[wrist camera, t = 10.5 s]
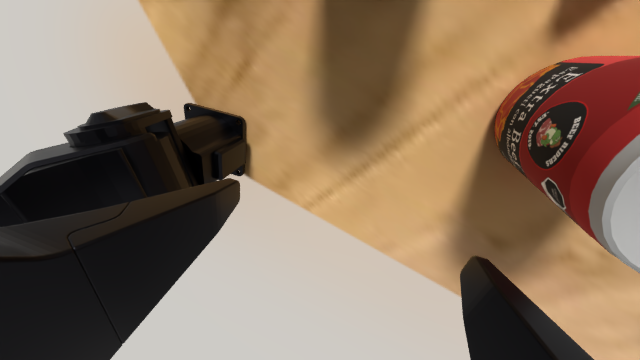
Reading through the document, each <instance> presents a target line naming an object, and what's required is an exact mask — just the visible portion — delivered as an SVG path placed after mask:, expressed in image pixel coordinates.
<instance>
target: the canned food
mask: <svg viewBox="0 0 640 360" xmlns="http://www.w3.org/2000/svg"><path fill="white" fill-rule="evenodd" d="M495 139H496V142H497V146H498V148H499V150H500V151H501V153H502V155H503V156H504V157H505V158H506V159H507V160H508V161H509V162H510V163H511V164H512V165H513V166H515V167H516V168H517V169H518V170H519V171H520V172H521V173H522V174H523V175H524V176H525V177H526V178H528V179H529V180H530V181H531V182H532V183H533V184H534V185H535V186H536V187H537V188H538V189H540V190H541V191H542V192H543V193H544V194H545V195H546V196H547V197H548V198H549V199H550V200H551V201H553V202H554V203H555V204H556V205H557V206H558V207H559V208H560V209H561V210H562V211H563V212H564V213H566V214H567V215H568V216H569V217H570V218H571V219H572V220H573V221H574V222H575V223H576V224H578V225H579V226H580V227H581V228H582V229H583V230H584V231H585V232H586V233H587V234H588V235H590V236H591V237H592V238H593V239H595V240H596V241H597V242H598V243H599V244H600V245H601V246H602V247H604V248H605V249H606V250H607V251H608V252H609V253H611V254H612V255H614V256H615V257H617V258H618V259H620V260H621V261H622V262H623V263H625V264H626V265H628V266H629V267H631V268H632V269H634V270H635V271H637V272H639V273H640V56H590V57H579V58H574V59H569V60H565V61H562V62H559V63H557V64H554V65H551V66H548V67H546V68H544V69H542V70H540V71H538V72H537V73H535V74H533V75H531V76H529V77H528V78H527V79H525V80H524V81H523V82H521V83H520V84H518V85H517V86H516V87H515V88H514V89H513V90H512V91H511V92H510V93H509V94H508V96H507V97H506V99H505V100H504V101H503V103H502V104H501V107H500V109H499V111H498V113H497V116H496V120H495Z"/></svg>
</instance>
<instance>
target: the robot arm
mask: <svg viewBox="0 0 640 360" xmlns="http://www.w3.org/2000/svg"><path fill="white" fill-rule="evenodd" d="M189 107H190V109H191V110H190V109H189ZM184 113H185V120H182V121H179V122H176V123H173V121H172V119H171V117H172V115H171V112H170V110H163V111H160V109H154V108H153V107H151V106H150V105H148V103H146V102H145V103H138V104H133V105H127V106H122V107H118V108H113V109H108V110H104V111H100V112H96V113H92V114H91V115H90V117H89V119H88V120H87V122H86V123H85V124H82V125H80V126H78V128H76V129H73V130H70V131H68V132H65V133H64V136H65V137H66V139H67V140H68V142H69V143H65V144H61V145H57V146H52V147H48V148H44V149H40V150H36V151H33V152H30V153H29V154H27V155H26V156H25V157H24V158H22V159H21V160H20V161H19V162H17V163H16V164H15V165H14V166H13V167H12V168H10V169H9V170H8V171H7V172H6V173H5V174H3V175H2V176H1V177H0V360H110V359H111V358H112V357H113V355H114V354H115V353H116V352H117V351H118V350H119V348H120V347H121V346H122V344H123V343H124V342H125V341H126V340H127V339H128V337H129V336H130V335H131V334H132V333H133V332H134V330H135V329H136V328H137V327H138V326H139V325H140V323H141V322H142V321H143V320H144V319H145V318H146V316H147V315H148V314H149V313H150V312H151V311H152V309H153V308H154V307H155V306H156V305H157V304H158V302H159V301H160V300H161V299H162V298H163V296H164V295H165V294H166V293H167V292H168V291H169V289H170V288H171V287H172V286H173V285H174V284H175V282H176V281H177V280H178V279H179V278H180V277H181V275H182V274H183V273H184V272H185V271H186V270H187V268H188V267H189V266H190V265H191V264H192V263H193V261H194V260H195V259H196V258H197V256H198V255H199V254H200V253H201V252H202V251H203V250H204V249H205V247H206V246H207V245H208V244H209V242H210V241H211V240H212V239H213V238H214V237H215V236H216V234H217V233H218V232H219V230H220V229H221V228H222V226H223V225H224V223H225V222H226V220H227V218H228V217H229V216H230V214H231V213H232V212H233V210H234V209H235V207H236V205H237V204H238V202H239V200H240V183H239V181H237V180H234V179H231V178H228V179H224V178H225V177H226V176H228V175H229V174H234V175H237V176H242V175H243V174H244V172H245V163H246V140H245V120H244V118H243V117H241V116H237V115H233V114H230V113H226V112H222V111H218V110H215V109H211V108H207V107H204V106H200V105H196V104H192V103H187V104H185V105H184ZM238 120H239V121H240V123H241V124H239V122H238ZM238 170H239V171H240V172H239V171H238ZM222 179H224V180H222ZM217 180H220V181H217ZM460 282H461V296H462V309H463V320H464V326H465V331H466V337H467V342H468V348H469V353H470V358H471V360H594V359H593V358H592V357H591V356H590V355H589V354H588V353H586V352H585V351H584V350H583V349H582V348H581V347H580V346H579V345H578V344H577V343H576V342H575V341H574V340H573V339H572V338H571V337H569V336H568V335H567V334H566V333H565V332H564V331H563V330H562V329H561V328H560V327H559V326H558V325H557V324H556V323H555V322H554V321H552V320H551V319H550V318H549V317H548V316H547V315H546V314H545V313H544V312H543V311H542V310H541V309H540V308H539V307H538V306H537V305H536V304H534V303H533V302H532V301H531V300H530V299H529V298H528V297H527V296H526V295H525V294H524V293H523V292H522V291H521V290H520V289H519V288H517V287H516V286H515V285H514V284H513V283H512V282H511V281H510V280H509V279H508V278H507V277H506V276H505V275H504V274H503V273H502V272H500V271H499V270H498V269H497V268H496V267H495V266H494V265H493V264H492V263H491V262H490V261H489V260H487V259H485V258H482V257H479V256H472V257H471V258H470V260H469V261H468V262H467V264H466V265H465V266H464V268H463V269H462V271H461V274H460Z"/></svg>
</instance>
